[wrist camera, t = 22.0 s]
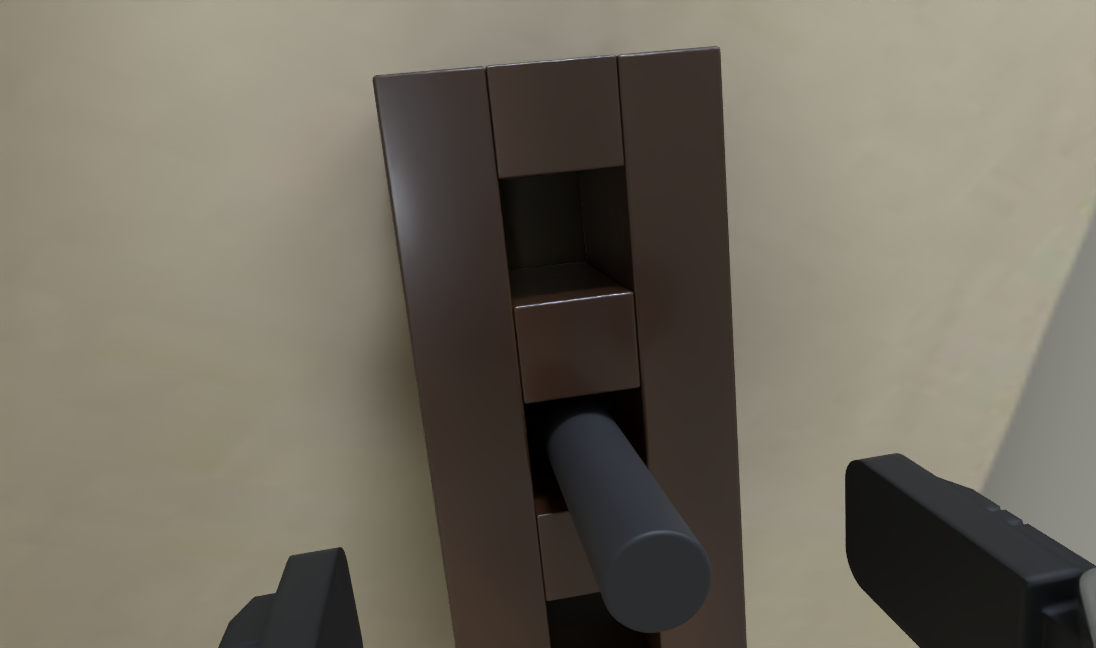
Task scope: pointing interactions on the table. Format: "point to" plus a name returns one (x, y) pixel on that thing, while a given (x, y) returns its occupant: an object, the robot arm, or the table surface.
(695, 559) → the stylus
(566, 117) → the pen stand
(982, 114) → the table surface
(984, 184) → the table surface
